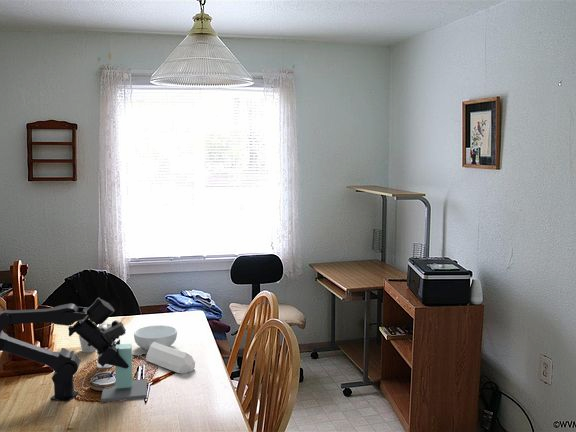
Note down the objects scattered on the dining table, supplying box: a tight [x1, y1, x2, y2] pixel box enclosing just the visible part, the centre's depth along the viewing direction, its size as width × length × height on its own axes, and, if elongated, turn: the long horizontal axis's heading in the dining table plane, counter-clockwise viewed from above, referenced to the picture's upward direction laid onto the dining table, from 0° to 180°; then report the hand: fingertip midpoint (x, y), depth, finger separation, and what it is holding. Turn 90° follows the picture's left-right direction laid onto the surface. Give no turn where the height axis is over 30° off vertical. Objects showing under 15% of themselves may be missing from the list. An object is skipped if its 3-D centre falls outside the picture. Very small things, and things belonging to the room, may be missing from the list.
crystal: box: [145, 342, 196, 374], centre depth 219 cm, size 7×7×24 cm
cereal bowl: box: [133, 324, 178, 351], centre depth 239 cm, size 17×17×7 cm
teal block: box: [114, 343, 133, 388], centre depth 195 cm, size 5×5×13 cm
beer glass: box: [96, 323, 115, 369], centre depth 219 cm, size 7×7×15 cm
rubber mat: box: [100, 378, 148, 403], centre depth 195 cm, size 14×14×1 cm
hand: (128, 364), depth 195 cm, fingers closed on teal block, 5 cm apart
